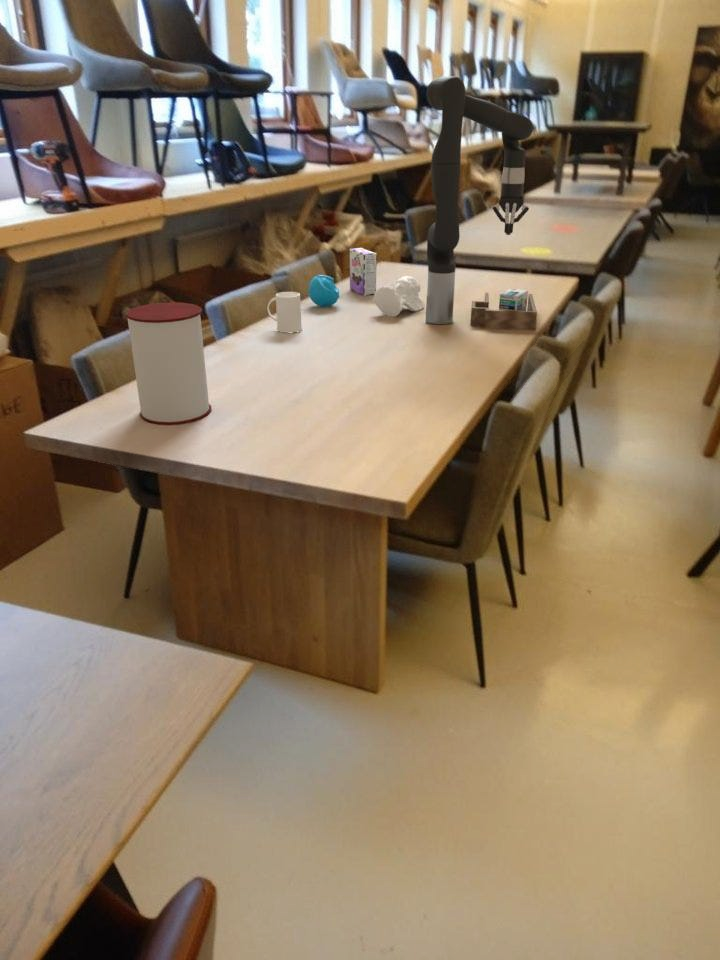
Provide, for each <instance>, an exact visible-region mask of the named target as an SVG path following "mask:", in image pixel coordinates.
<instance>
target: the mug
mask: <svg viewBox="0 0 720 960" xmlns="http://www.w3.org/2000/svg"><path fill="white" fill-rule="evenodd" d="M268 301H269V302H268V303H267V313H268V316H269V317H270V318H271V319H272V320H273V321H275V322H277V323H276V331H277V330H278V331H280V332H297V331H300V332H302V331H303V328H302V309H301V293H300V292H297V291H281V292H277V293H275V296H274V297H272V298H271V299H270V300H268ZM274 301H275V305H276V306H275V307H276V308H275V309H276V317H275V316H273V315H272V313H271V312H270V305H271V304H272V302H274ZM301 330H302V331H301ZM278 331H277V332H278ZM280 332H279V333H280ZM297 333H298V332H297Z"/></svg>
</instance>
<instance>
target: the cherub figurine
mask: <svg viewBox="0 0 720 960" xmlns="http://www.w3.org/2000/svg"><path fill="white" fill-rule="evenodd" d="M420 292H421V285H420V282H419V281H418V280H417V279H416V278H415V277H412V276H410V275H404V276H401V277H400V278H399V279H397V280H396V281H395V283H391V285H390V286H385V285H381V287H379V288H378V289H376V291H375V295H373V298H372V303H373V304H375V306H376V307H377V308H378V309H379V311H380V312H381V313H382V314H384V315H386V316H387V317H393V318H396V317H397V315H399V314H400V312H401V311H403V307H404V306H405V307H406V308H407V309H408V310H409V311H411V312H418V311H421V310H422V309H424V308H425V307H426V306H425V303H424V301H423V300H422V299H421V298H420V297H419V293H420Z"/></svg>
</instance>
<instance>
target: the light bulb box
mask: <svg viewBox="0 0 720 960" xmlns="http://www.w3.org/2000/svg"><path fill="white" fill-rule="evenodd" d="M528 296H529V290H528V289H527V290H525V289H517V288H511V287H510V288H509V289H507V290H505V291H503V292H501V293H499V302H498V310H509V311H527V306H528Z"/></svg>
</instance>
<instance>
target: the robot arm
mask: <svg viewBox="0 0 720 960" xmlns="http://www.w3.org/2000/svg"><path fill="white" fill-rule="evenodd" d="M426 100H427V102H428V104H429V105H430V106H431V107H432V108H433V109H435V110H437V111H441V128H440V133H439V136H438V137H437V140H436V143H435V146H434V149H433V151H432V155H431V168H430V169H431V174H430V177H431V186H432V192H433V196H434V197H433V198H434V201H435V202H434V203H435V221H434V223H432V224H431V226H430V227H429V229H428V231H427V239H426V261H427V262H426V263H427V268H428V269H427V270H428V271H427V293H426V306H425V307H426V308H425V309H426V310H425V323H428V324H433V325H435V324H436V325H445V324H446V325H447V324H451V323H453V322H454V305H455V303H454V300H455V285H456V284H455V281H456V280H455V279H456V269H457V268H456V266H457V264H456V260H455V257H454V256H455V255H454V252H455V251H454V250H455V249H456V248H457V246H458V244H459V241H460V235H461V234H460V223H459V222H460V221H459V199H460V185H461V184H460V180H461V159H462V157H461V151H462V150H461V149H462V148H461V147H462V133H463V132H462V131H463V123H464V118H466V119H469V120H470V121H473V122H475V123H477V124H479V125H481V126H484V127H486V128H488V129H490V130H492V131H495V132H498V133H501V137H502V138H501V140H502V145H503V152H504V157H503V169H502V173H501V184H500V185H501V187H500V197H499V199H498V203H497V204H495V205H493V206H492V210H493V212H494V213H495V215H496V216H497V218H498V219H499V221H500V222H502V223H504V230H503V231H504V232H503V233H504V234H506V235H507V236H511V234H513V232H514V224H515V223H519V221H520V220H521V219H522V218H523V217H524V216H525V215H526V214H527V212H528V211H529V209H530V207H529V206H527V205H526V204H525V203H524V199H523V196H524V185H525V175H526V174H525V171H526V170H525V167H526V166H525V165H526V153H527V152H526V149H524V148H523V147H521V146H520V142H519V141H525V140H527V139H528V138H531V136H532V133H533V130H534V124H533V123H532V120H531V119H530V118H529V117H527V116H526V115H523V114H520V113H517V112H513V111H510V110H508V109H505V108H504V107H502V106H500V105H497V104H496V103H493V102H491V101H488V100H485V99H482V98H477V97H474V96H471V95H467V93H466V87H465V84H464V82H463V79H462V78H460V77H459V76H451V75H450V76H441V77H440V76H439V77H436V78H435V79H433V80H431V82H430V83H429V85H428V86H427V89H426ZM500 208H501V210H502V212H503V213H504V217H503V215H502V214H501V212H500ZM520 209H521V211H520V212H519V210H520ZM518 212H519V214H517V216H516V213H518ZM515 216H516V217H515ZM506 235H505V236H506Z"/></svg>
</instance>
